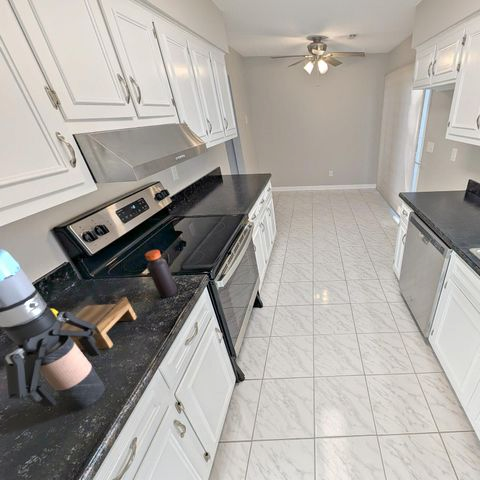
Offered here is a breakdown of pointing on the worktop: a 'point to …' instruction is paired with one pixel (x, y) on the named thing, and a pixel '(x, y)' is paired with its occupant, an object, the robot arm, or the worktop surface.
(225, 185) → the worktop surface
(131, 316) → the shelf
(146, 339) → the worktop surface
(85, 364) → the travel mug
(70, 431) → the worktop surface
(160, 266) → the bottle
